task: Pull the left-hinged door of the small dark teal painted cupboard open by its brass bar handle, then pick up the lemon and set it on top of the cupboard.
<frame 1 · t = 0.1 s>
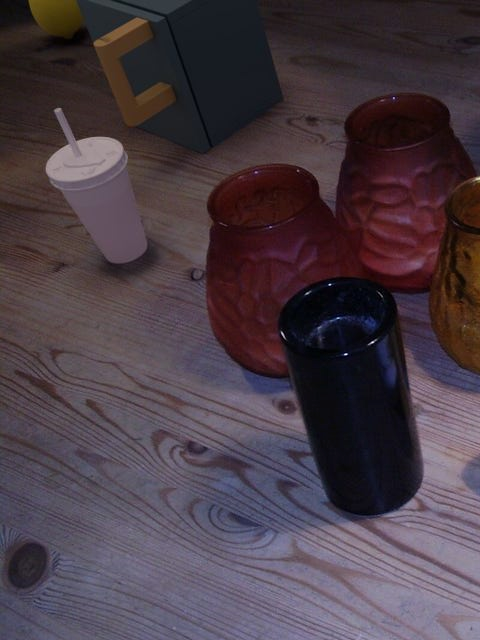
smoothie: (127, 252, 88), on the table
cupboard door: (122, 87, 94), point 7 cm above the table, hinge at 0.0°
cupboard: (209, 109, 103), on the table
lemon: (70, 40, 118), on the table
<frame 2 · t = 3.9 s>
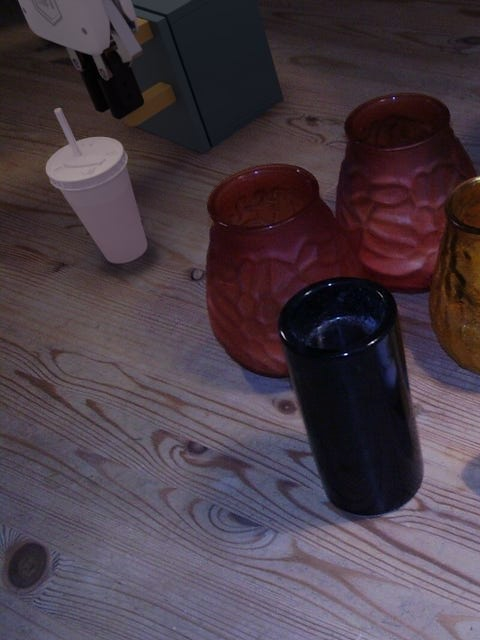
hand: (120, 106, 90), 8 cm above the table, tool pointing down, fingers closed on cupboard door
cupboard door: (122, 87, 94), point 7 cm above the table, hinge at 0.0°, touching gripper
everything else where it was.
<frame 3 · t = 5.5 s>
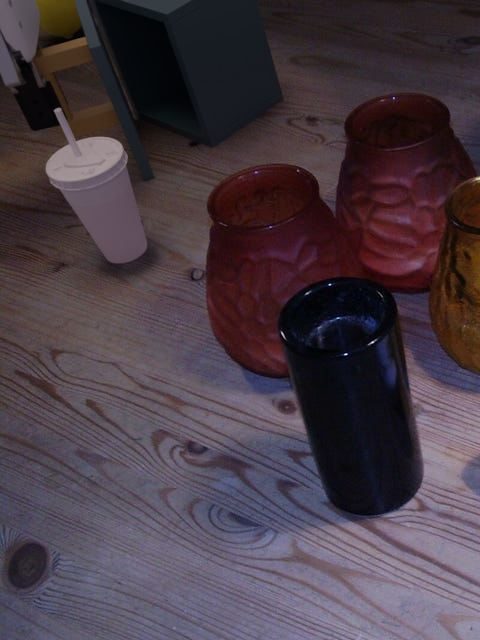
hand: (50, 117, 90), 8 cm above the table, tool pointing down, fingers closed on cupboard door
cupboard door: (85, 95, 94), point 7 cm above the table, hinge at 30.3°, touching gripper
everything else where it was.
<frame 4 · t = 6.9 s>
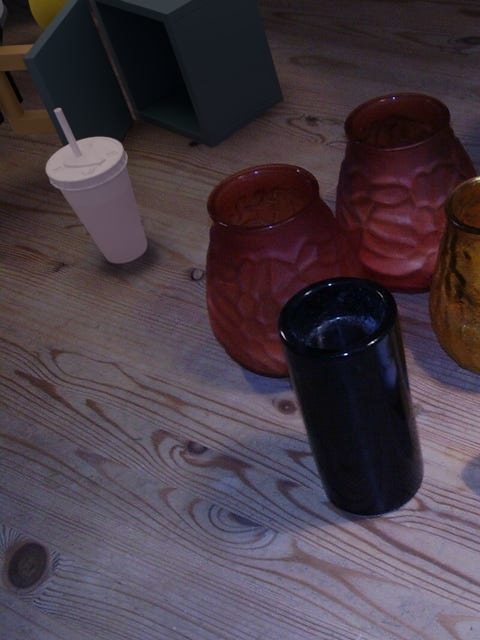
cupboard door: (57, 93, 94), point 7 cm above the table, hinge at 58.0°
everything else where it was.
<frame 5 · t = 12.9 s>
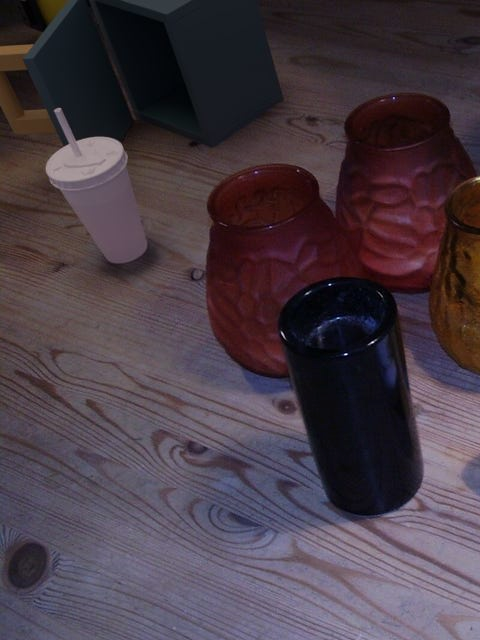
hand: (60, 15, 116), 3 cm above the table, tool pointing down, fingers closed on lemon, 5 cm apart
lemon: (70, 40, 118), on the table, touching gripper
everything else where it was.
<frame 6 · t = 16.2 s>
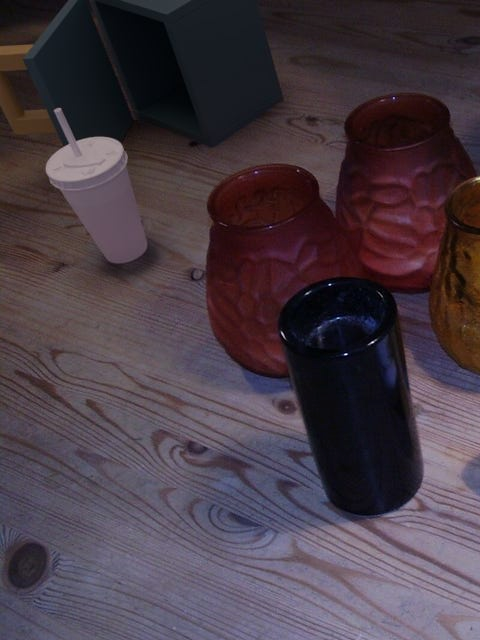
when the fingers open (17 cm above the table, at t = 19.4 s): lemon stays where it is, resting on cupboard.
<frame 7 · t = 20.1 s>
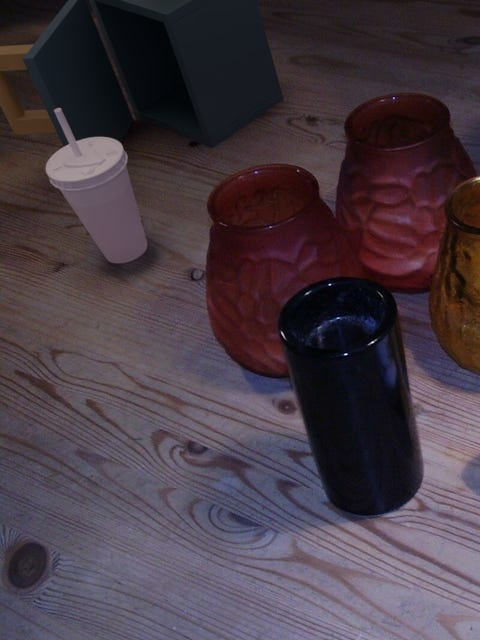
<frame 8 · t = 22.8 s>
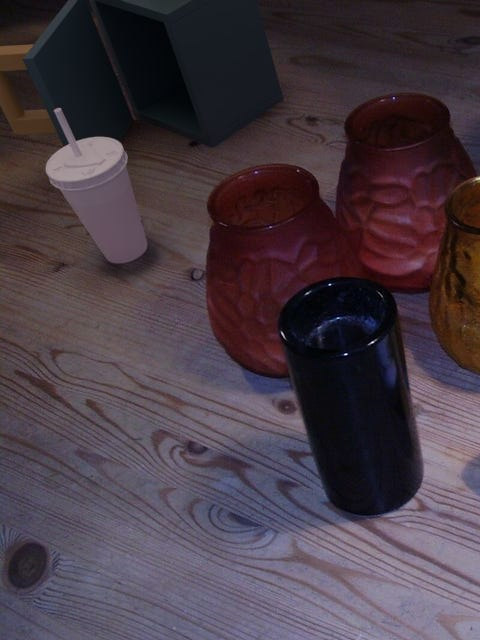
at the end: cupboard door at +58° (first picture: +0°); lemon inside the target area on the cupboard (1.3 cm from its centre), point 13.8 cm above the cupboard's base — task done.
